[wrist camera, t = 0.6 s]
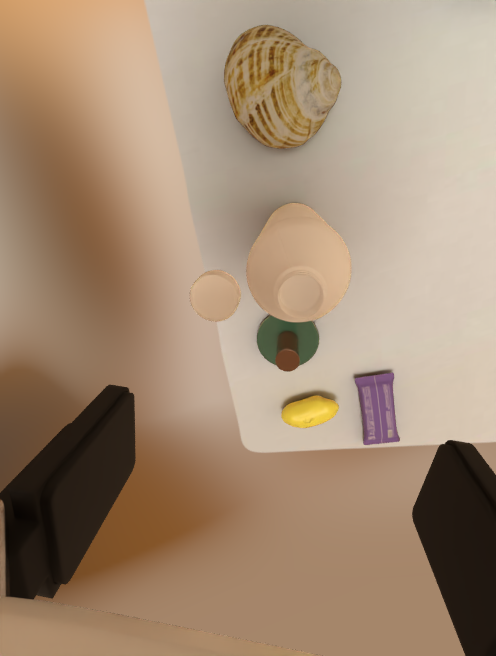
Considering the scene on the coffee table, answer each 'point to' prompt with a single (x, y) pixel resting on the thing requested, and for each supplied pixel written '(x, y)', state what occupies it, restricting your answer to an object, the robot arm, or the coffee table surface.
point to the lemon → (309, 412)
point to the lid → (287, 342)
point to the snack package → (377, 408)
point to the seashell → (279, 86)
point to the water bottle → (283, 271)
